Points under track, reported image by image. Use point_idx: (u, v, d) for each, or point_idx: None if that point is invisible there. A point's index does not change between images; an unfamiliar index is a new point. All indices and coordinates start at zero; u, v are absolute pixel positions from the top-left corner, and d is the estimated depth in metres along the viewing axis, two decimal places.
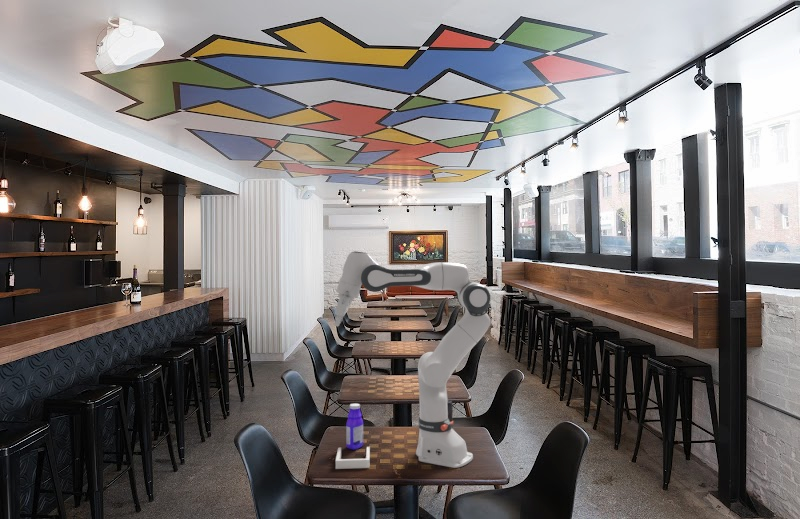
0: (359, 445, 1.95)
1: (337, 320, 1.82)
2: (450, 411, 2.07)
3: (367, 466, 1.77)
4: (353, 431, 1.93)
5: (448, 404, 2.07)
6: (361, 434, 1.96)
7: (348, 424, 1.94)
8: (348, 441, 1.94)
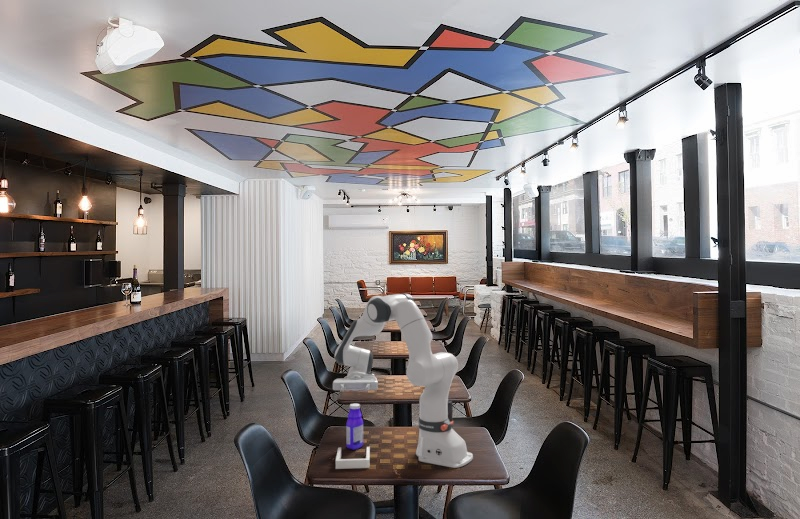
0: (359, 445, 1.95)
1: (341, 388, 2.11)
2: (450, 411, 2.07)
3: (367, 466, 1.77)
4: (353, 431, 1.93)
5: (448, 404, 2.07)
6: (361, 434, 1.96)
7: (348, 424, 1.94)
8: (348, 441, 1.94)
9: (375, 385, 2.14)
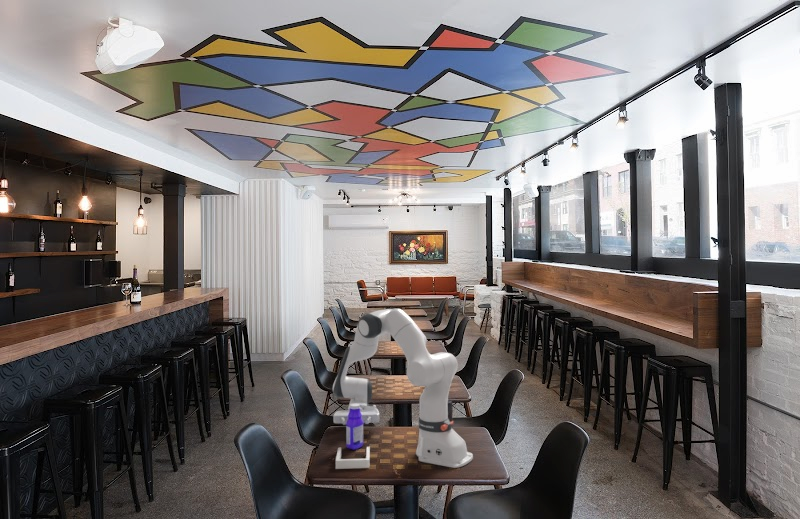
0: (359, 445, 1.95)
1: (342, 421, 2.07)
2: (450, 411, 2.07)
3: (367, 466, 1.77)
4: (353, 431, 1.93)
5: (448, 404, 2.07)
6: (361, 434, 1.96)
7: (348, 424, 1.94)
8: (348, 441, 1.94)
9: (376, 418, 2.10)
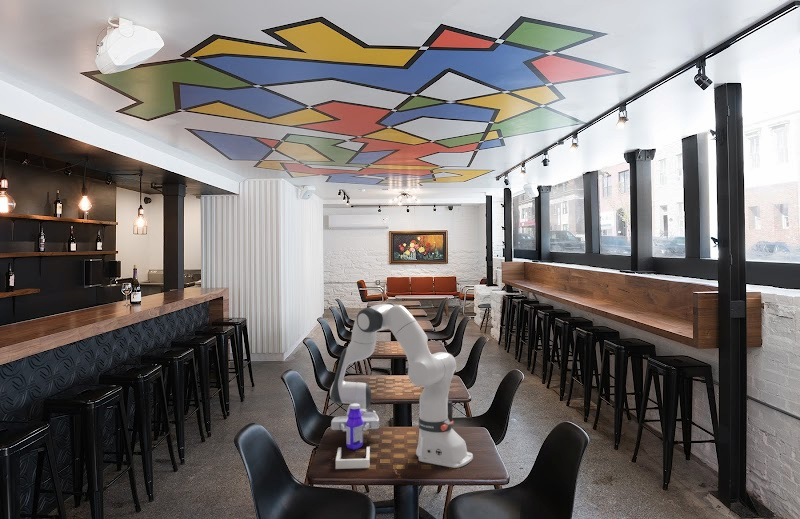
0: (359, 445, 1.95)
1: (342, 428, 1.98)
2: (450, 411, 2.07)
3: (367, 466, 1.77)
4: (353, 431, 1.93)
5: (448, 404, 2.07)
6: (361, 434, 1.96)
7: (348, 424, 1.94)
8: (348, 441, 1.94)
9: (376, 424, 2.01)
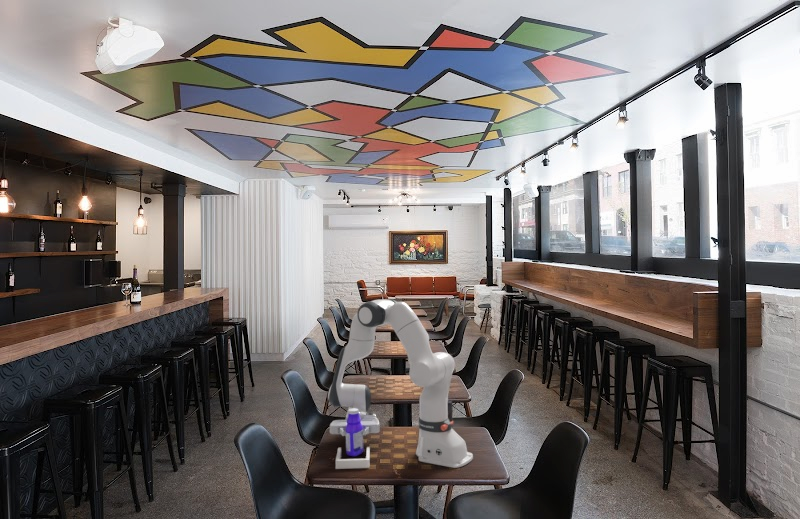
0: (360, 451, 1.87)
1: (341, 432, 1.90)
2: (450, 411, 2.07)
3: (367, 466, 1.77)
4: (353, 437, 1.86)
5: (448, 404, 2.07)
6: (361, 439, 1.89)
7: (347, 430, 1.87)
8: (348, 448, 1.86)
9: (376, 428, 1.93)
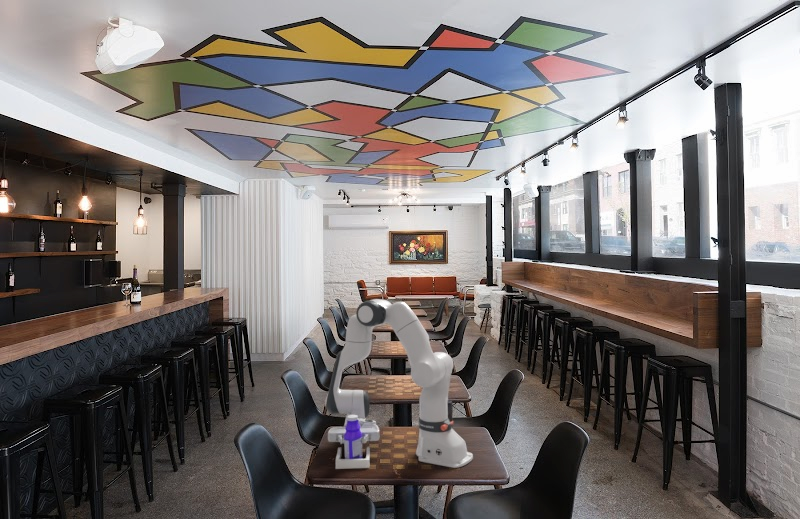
0: None
1: (339, 440, 1.83)
2: (450, 411, 2.07)
3: (367, 466, 1.77)
4: (352, 444, 1.79)
5: (448, 404, 2.07)
6: (360, 447, 1.82)
7: (346, 437, 1.80)
8: (347, 456, 1.79)
9: (376, 435, 1.86)
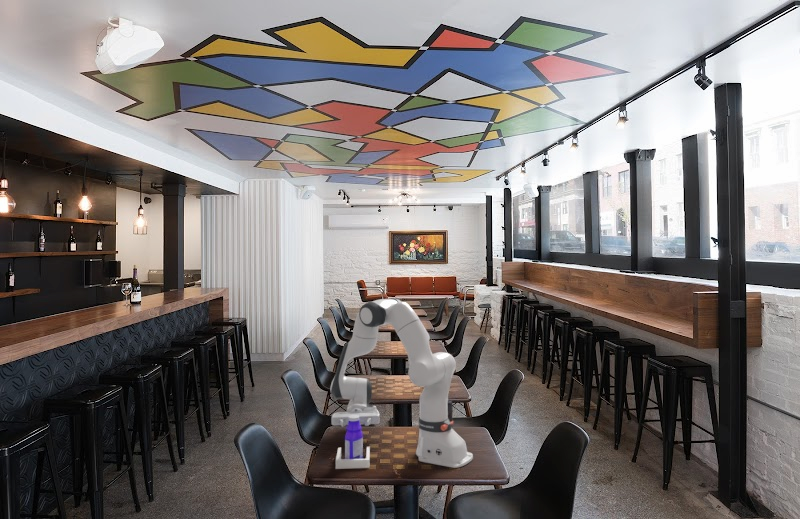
0: None
1: (341, 423, 1.96)
2: (450, 411, 2.07)
3: (367, 466, 1.77)
4: (353, 445, 1.79)
5: (448, 404, 2.07)
6: (361, 448, 1.81)
7: (347, 437, 1.79)
8: (347, 456, 1.79)
9: (376, 419, 1.99)
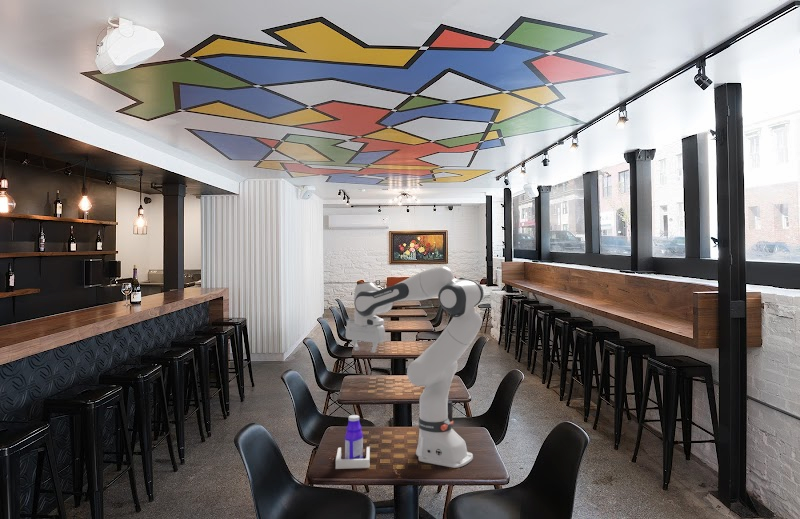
0: None
1: None
2: (450, 411, 2.07)
3: (367, 466, 1.77)
4: (353, 445, 1.79)
5: (448, 404, 2.07)
6: (361, 448, 1.81)
7: (347, 437, 1.79)
8: (347, 456, 1.79)
9: (380, 342, 2.03)
